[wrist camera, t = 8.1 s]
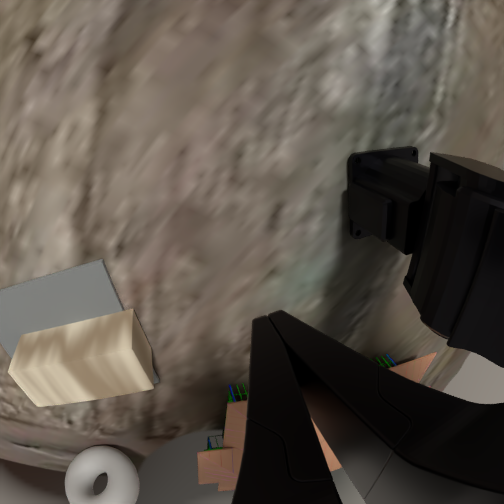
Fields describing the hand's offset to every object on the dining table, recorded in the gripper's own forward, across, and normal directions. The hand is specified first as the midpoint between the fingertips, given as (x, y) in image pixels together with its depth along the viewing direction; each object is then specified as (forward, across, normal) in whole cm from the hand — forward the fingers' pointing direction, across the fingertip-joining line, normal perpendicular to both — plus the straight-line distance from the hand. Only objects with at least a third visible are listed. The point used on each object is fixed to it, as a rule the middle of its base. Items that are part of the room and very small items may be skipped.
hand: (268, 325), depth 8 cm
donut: (+12, +20, +23) cm, 33 cm away
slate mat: (+12, +14, +8) cm, 20 cm away
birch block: (+10, +7, +8) cm, 14 cm away
